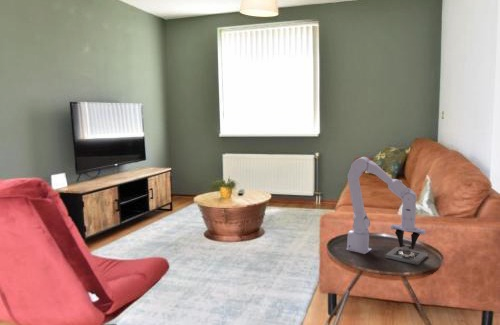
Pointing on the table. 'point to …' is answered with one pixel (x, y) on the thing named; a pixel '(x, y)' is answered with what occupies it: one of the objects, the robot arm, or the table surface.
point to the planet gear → (406, 251)
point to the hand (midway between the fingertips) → (406, 247)
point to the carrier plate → (418, 259)
